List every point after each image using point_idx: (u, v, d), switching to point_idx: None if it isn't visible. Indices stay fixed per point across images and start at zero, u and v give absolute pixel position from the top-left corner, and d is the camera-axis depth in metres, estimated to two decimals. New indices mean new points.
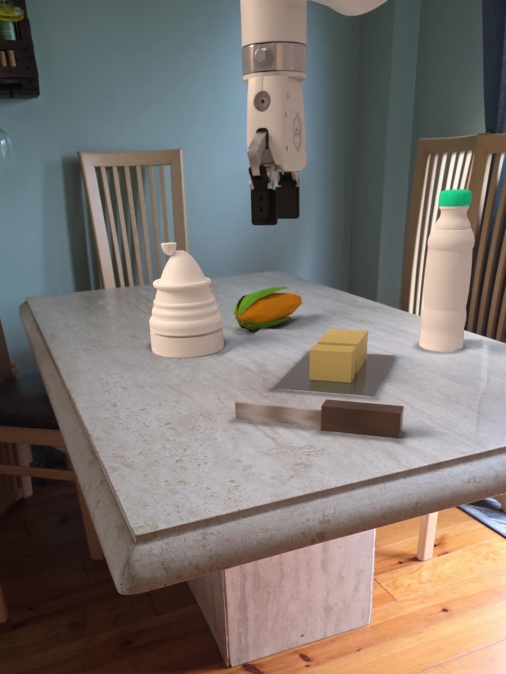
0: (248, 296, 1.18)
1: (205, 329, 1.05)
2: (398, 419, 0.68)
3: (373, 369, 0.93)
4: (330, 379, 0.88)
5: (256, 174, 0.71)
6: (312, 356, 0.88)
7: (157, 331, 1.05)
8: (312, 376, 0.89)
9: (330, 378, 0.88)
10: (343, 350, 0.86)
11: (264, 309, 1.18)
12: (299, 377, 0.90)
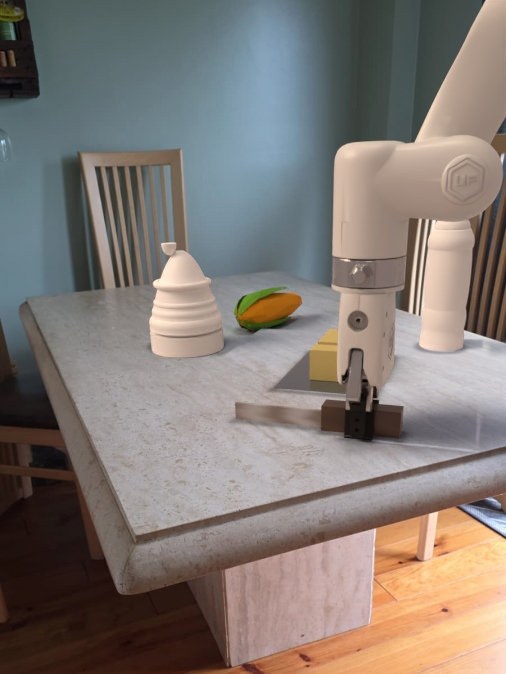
0: (248, 296, 1.18)
1: (205, 329, 1.05)
2: (398, 419, 0.68)
3: None
4: (330, 379, 0.88)
5: (356, 402, 0.66)
6: (312, 356, 0.88)
7: (157, 331, 1.05)
8: (312, 376, 0.89)
9: (330, 378, 0.88)
10: None
11: (264, 309, 1.18)
12: (299, 377, 0.90)
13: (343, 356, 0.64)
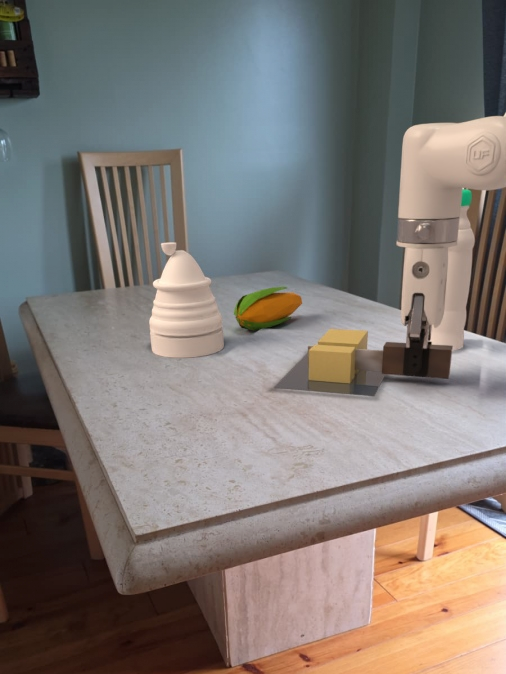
0: (248, 296, 1.18)
1: (205, 329, 1.05)
2: (448, 355, 0.83)
3: None
4: (329, 380, 0.88)
5: (415, 339, 0.80)
6: (311, 357, 0.87)
7: (157, 331, 1.05)
8: (311, 376, 0.89)
9: (329, 379, 0.88)
10: (342, 350, 0.86)
11: (264, 309, 1.18)
12: (299, 377, 0.90)
13: (407, 300, 0.78)
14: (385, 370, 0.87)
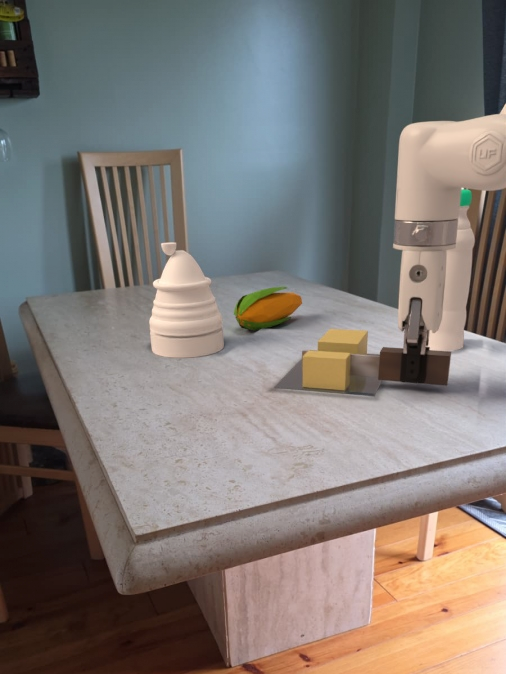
0: (248, 296, 1.18)
1: (205, 329, 1.05)
2: (447, 361, 0.80)
3: None
4: (324, 387, 0.85)
5: (413, 345, 0.78)
6: (305, 363, 0.85)
7: (157, 331, 1.05)
8: (305, 383, 0.86)
9: (324, 385, 0.85)
10: (337, 356, 0.84)
11: (264, 309, 1.18)
12: (299, 377, 0.90)
13: (404, 304, 0.76)
14: (382, 376, 0.84)
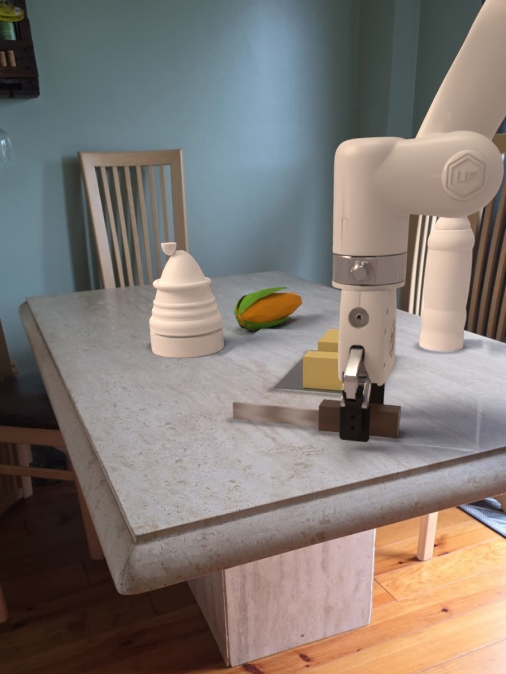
0: (248, 296, 1.18)
1: (205, 329, 1.05)
2: (395, 418, 0.69)
3: None
4: (324, 387, 0.85)
5: (351, 398, 0.63)
6: (305, 363, 0.85)
7: (157, 331, 1.05)
8: (305, 384, 0.86)
9: (324, 386, 0.85)
10: (337, 357, 0.83)
11: (264, 309, 1.18)
12: (299, 377, 0.90)
13: (344, 353, 0.64)
14: None
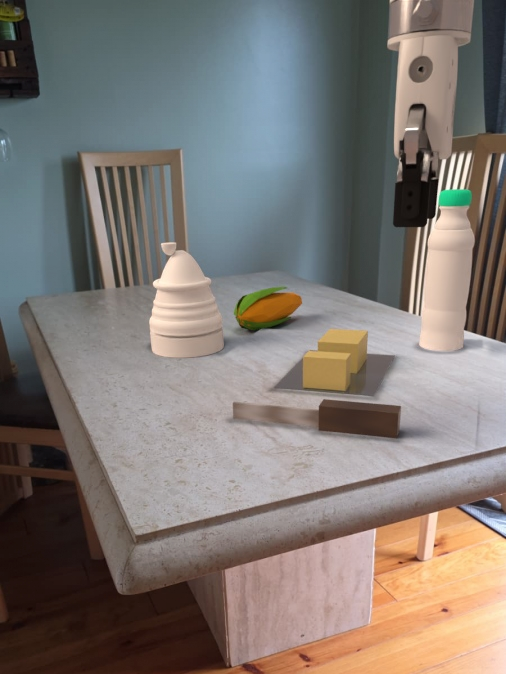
0: (248, 296, 1.18)
1: (205, 329, 1.05)
2: (395, 418, 0.69)
3: (373, 369, 0.93)
4: (324, 387, 0.85)
5: (411, 162, 0.56)
6: (305, 363, 0.85)
7: (157, 331, 1.05)
8: (305, 384, 0.86)
9: (324, 386, 0.85)
10: (337, 357, 0.83)
11: (264, 309, 1.18)
12: (299, 377, 0.90)
13: (402, 116, 0.57)
14: None
